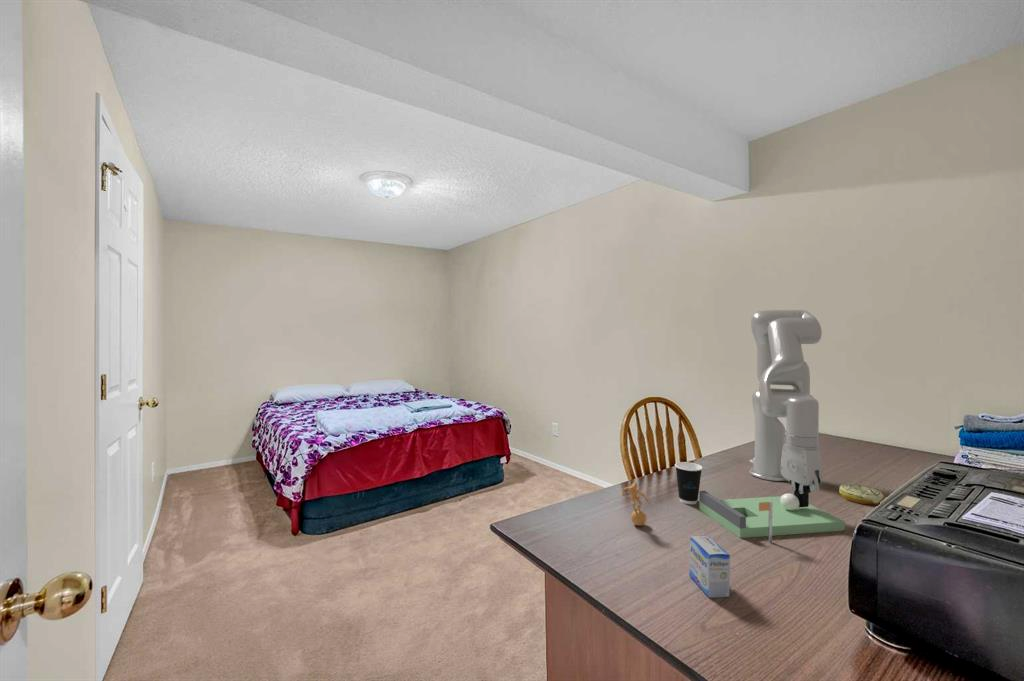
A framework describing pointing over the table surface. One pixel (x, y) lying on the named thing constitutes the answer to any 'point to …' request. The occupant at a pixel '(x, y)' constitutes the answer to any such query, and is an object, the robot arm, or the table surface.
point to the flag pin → (765, 507)
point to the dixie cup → (688, 481)
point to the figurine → (638, 515)
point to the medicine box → (709, 566)
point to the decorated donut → (861, 494)
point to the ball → (789, 501)
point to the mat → (766, 517)
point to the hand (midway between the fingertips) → (801, 505)
